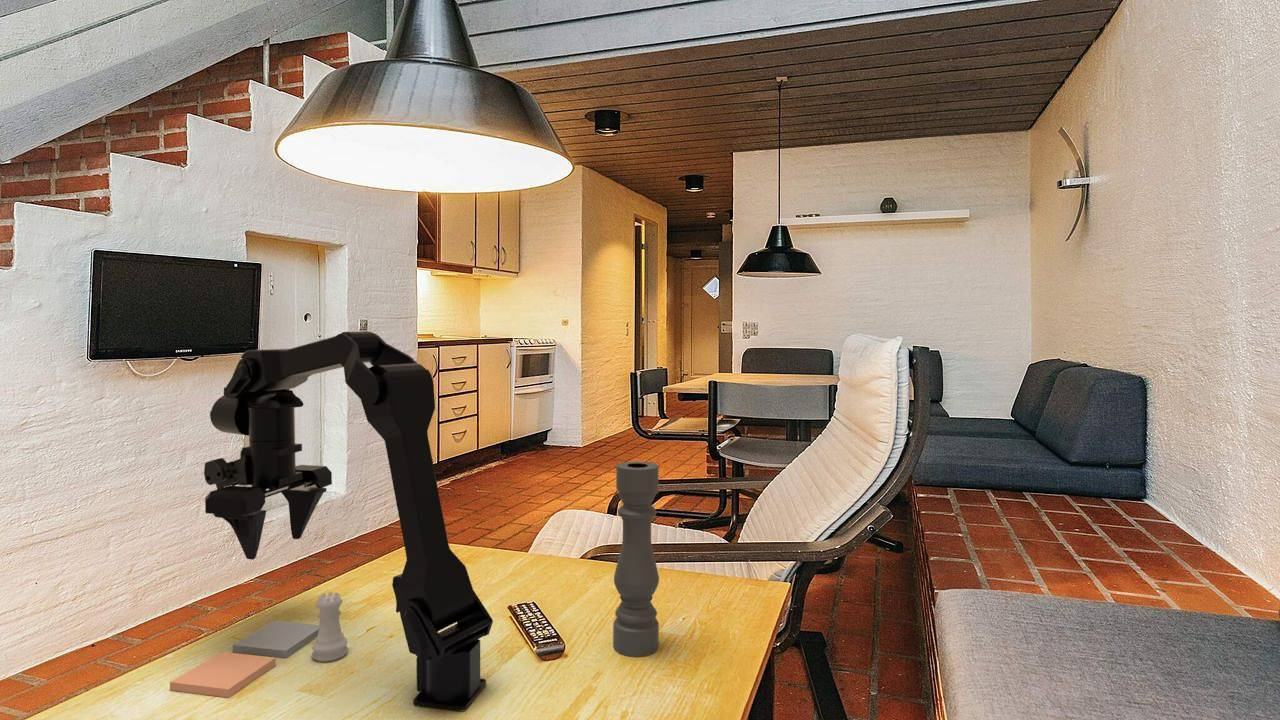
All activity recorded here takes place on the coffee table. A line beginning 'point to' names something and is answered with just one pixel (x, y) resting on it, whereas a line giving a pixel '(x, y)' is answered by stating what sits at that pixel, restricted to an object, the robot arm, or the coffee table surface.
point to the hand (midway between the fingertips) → (274, 548)
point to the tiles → (246, 659)
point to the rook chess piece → (329, 630)
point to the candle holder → (636, 561)
